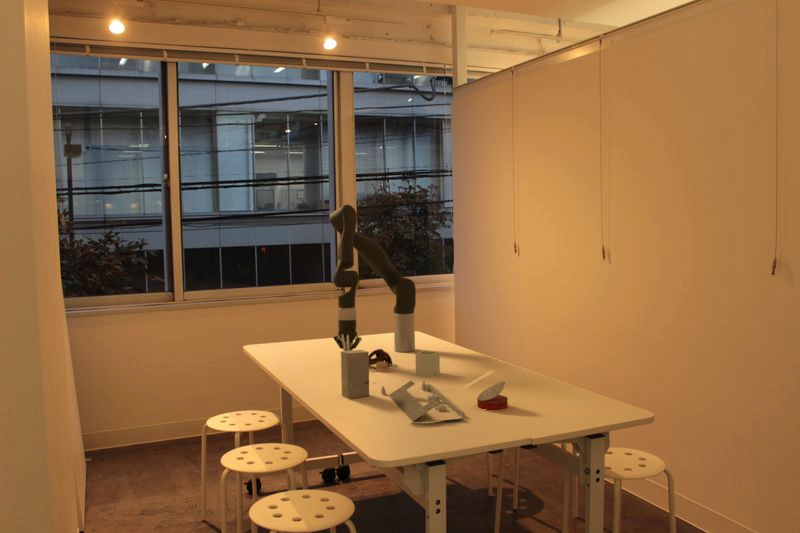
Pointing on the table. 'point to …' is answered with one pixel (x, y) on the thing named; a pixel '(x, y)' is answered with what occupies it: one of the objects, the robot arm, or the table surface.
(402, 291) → the robot arm
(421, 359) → the celadon pot
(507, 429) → the table surface
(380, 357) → the pottery mug
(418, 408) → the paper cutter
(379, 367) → the oak block
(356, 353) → the skincare box
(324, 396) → the table surface
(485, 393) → the canned food
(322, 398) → the table surface
